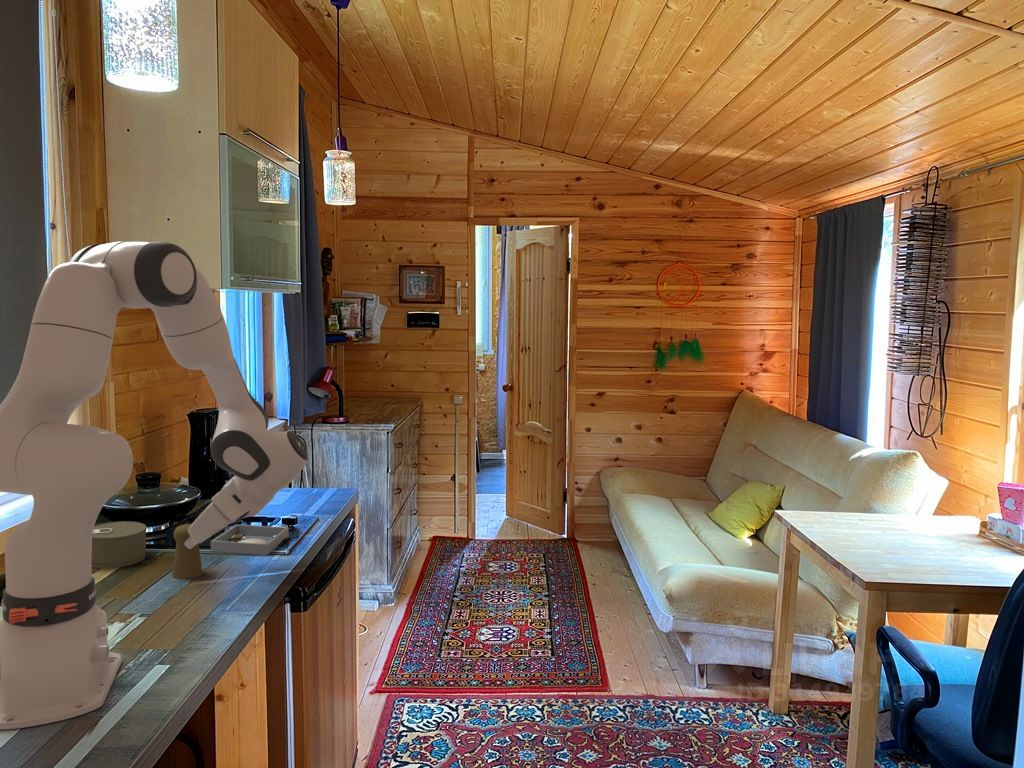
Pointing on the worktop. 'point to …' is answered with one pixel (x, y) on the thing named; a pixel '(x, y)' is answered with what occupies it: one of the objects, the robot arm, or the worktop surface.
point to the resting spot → (254, 541)
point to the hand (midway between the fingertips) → (199, 538)
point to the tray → (251, 533)
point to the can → (118, 544)
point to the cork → (186, 556)
